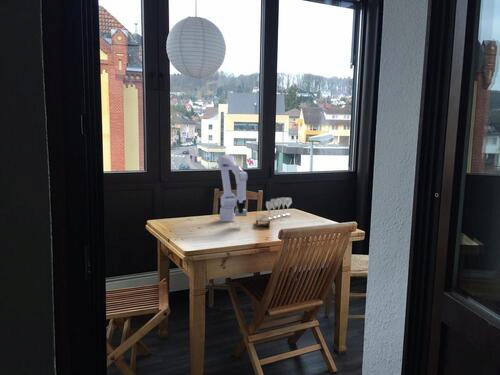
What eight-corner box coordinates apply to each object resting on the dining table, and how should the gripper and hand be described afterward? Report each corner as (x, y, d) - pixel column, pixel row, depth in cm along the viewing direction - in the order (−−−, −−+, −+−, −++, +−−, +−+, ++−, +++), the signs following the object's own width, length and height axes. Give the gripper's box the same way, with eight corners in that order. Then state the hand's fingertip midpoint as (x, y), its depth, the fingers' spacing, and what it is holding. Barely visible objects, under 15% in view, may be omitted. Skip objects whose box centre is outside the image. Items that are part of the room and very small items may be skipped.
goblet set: (270, 219, 289) (270, 200, 287) (263, 218, 292) (264, 199, 291) (293, 214, 310) (293, 196, 309) (286, 213, 314) (287, 195, 312)
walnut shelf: (256, 228, 261) (256, 220, 260) (256, 222, 278) (256, 215, 277) (269, 228, 261) (269, 220, 260) (268, 222, 278) (269, 215, 277)
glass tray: (235, 216, 262) (235, 210, 262) (235, 214, 267) (235, 208, 267) (246, 216, 262) (246, 210, 262) (246, 214, 267) (246, 208, 267)
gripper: (235, 189, 270) (235, 210, 272) (234, 192, 256) (234, 214, 257) (246, 189, 270) (246, 210, 272) (245, 192, 255) (245, 214, 257)
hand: (241, 212), depth 264 cm, fingers closed on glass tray, 5 cm apart
